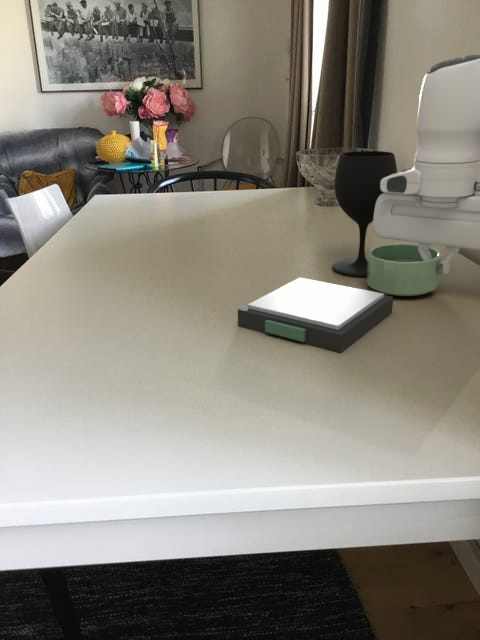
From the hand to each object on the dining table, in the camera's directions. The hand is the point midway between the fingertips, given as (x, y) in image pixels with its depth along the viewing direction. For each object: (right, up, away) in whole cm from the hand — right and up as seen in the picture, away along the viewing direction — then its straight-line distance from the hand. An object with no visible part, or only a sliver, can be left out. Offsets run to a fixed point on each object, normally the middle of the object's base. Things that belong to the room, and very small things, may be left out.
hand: (436, 272), depth 87 cm
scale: (-19, -7, -6) cm, 21 cm away
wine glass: (-8, +2, +15) cm, 17 cm away
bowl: (-4, -2, +4) cm, 6 cm away
